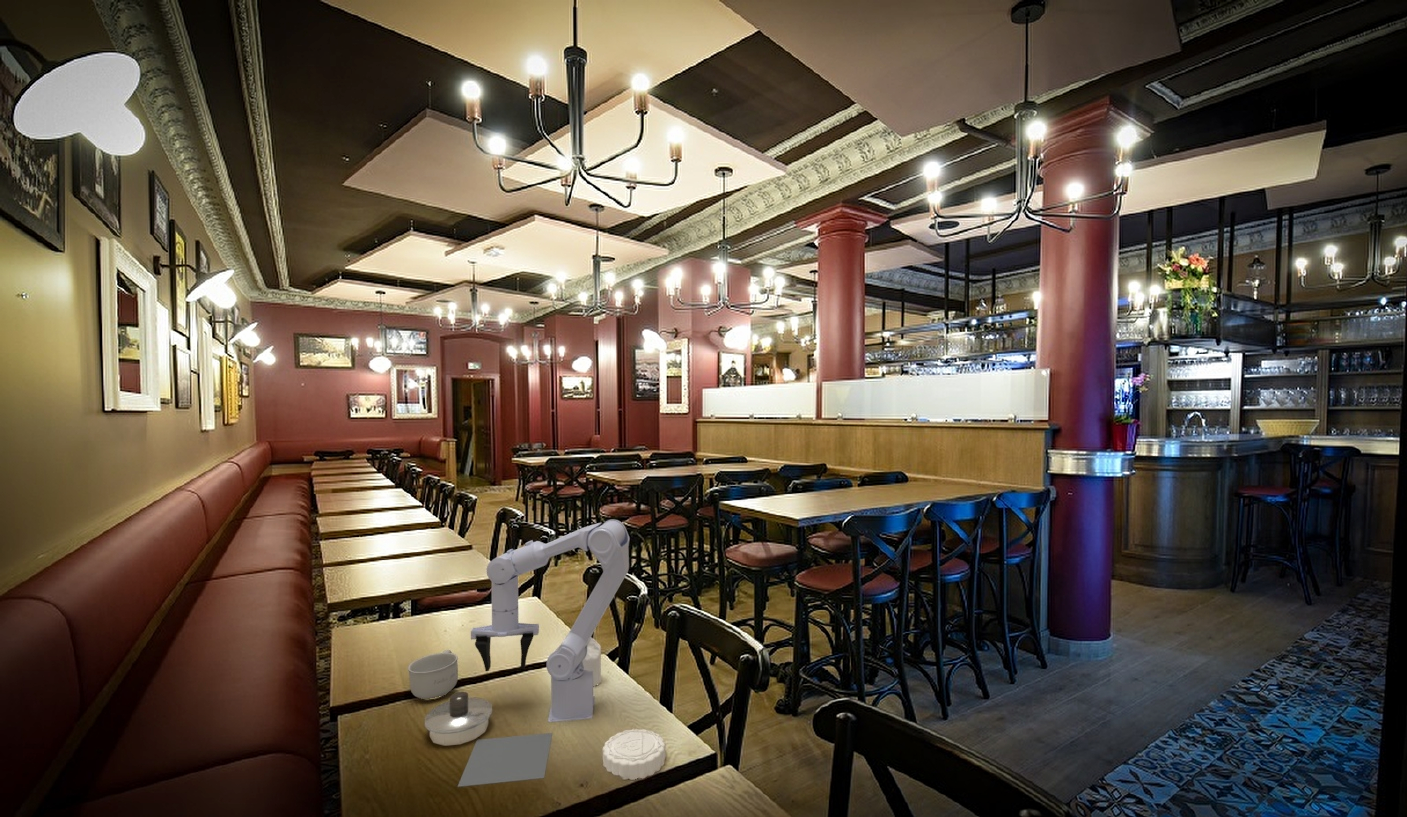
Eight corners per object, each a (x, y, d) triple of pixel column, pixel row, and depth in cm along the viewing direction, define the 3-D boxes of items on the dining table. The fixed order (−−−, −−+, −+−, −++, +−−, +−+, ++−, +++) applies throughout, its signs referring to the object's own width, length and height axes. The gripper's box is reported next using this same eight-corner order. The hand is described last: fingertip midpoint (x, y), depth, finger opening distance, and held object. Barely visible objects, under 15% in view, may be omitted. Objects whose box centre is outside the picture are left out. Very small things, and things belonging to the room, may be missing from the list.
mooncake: (605, 745, 118) (605, 728, 118) (664, 742, 119) (664, 724, 119) (600, 783, 106) (599, 764, 106) (666, 779, 107) (665, 759, 107)
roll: (602, 630, 147) (598, 638, 142) (603, 677, 147) (599, 688, 142) (578, 630, 147) (574, 639, 142) (579, 677, 147) (574, 688, 142)
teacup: (439, 707, 133) (438, 672, 133) (397, 703, 135) (397, 668, 135) (474, 680, 147) (474, 648, 147) (436, 676, 149) (436, 645, 149)
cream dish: (492, 716, 129) (492, 700, 129) (481, 744, 118) (480, 727, 118) (439, 720, 127) (439, 704, 127) (423, 749, 117) (423, 732, 117)
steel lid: (495, 697, 130) (494, 678, 130) (488, 728, 118) (487, 707, 118) (432, 705, 127) (431, 685, 127) (418, 737, 115) (417, 716, 115)
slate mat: (552, 735, 121) (552, 733, 121) (543, 780, 107) (543, 778, 107) (477, 742, 119) (477, 739, 119) (457, 789, 104) (457, 786, 104)
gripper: (467, 616, 127) (467, 678, 127) (535, 611, 129) (536, 673, 129) (474, 605, 134) (475, 664, 134) (539, 601, 136) (540, 659, 136)
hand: (505, 668), depth 132 cm, fingers open, 7 cm apart
